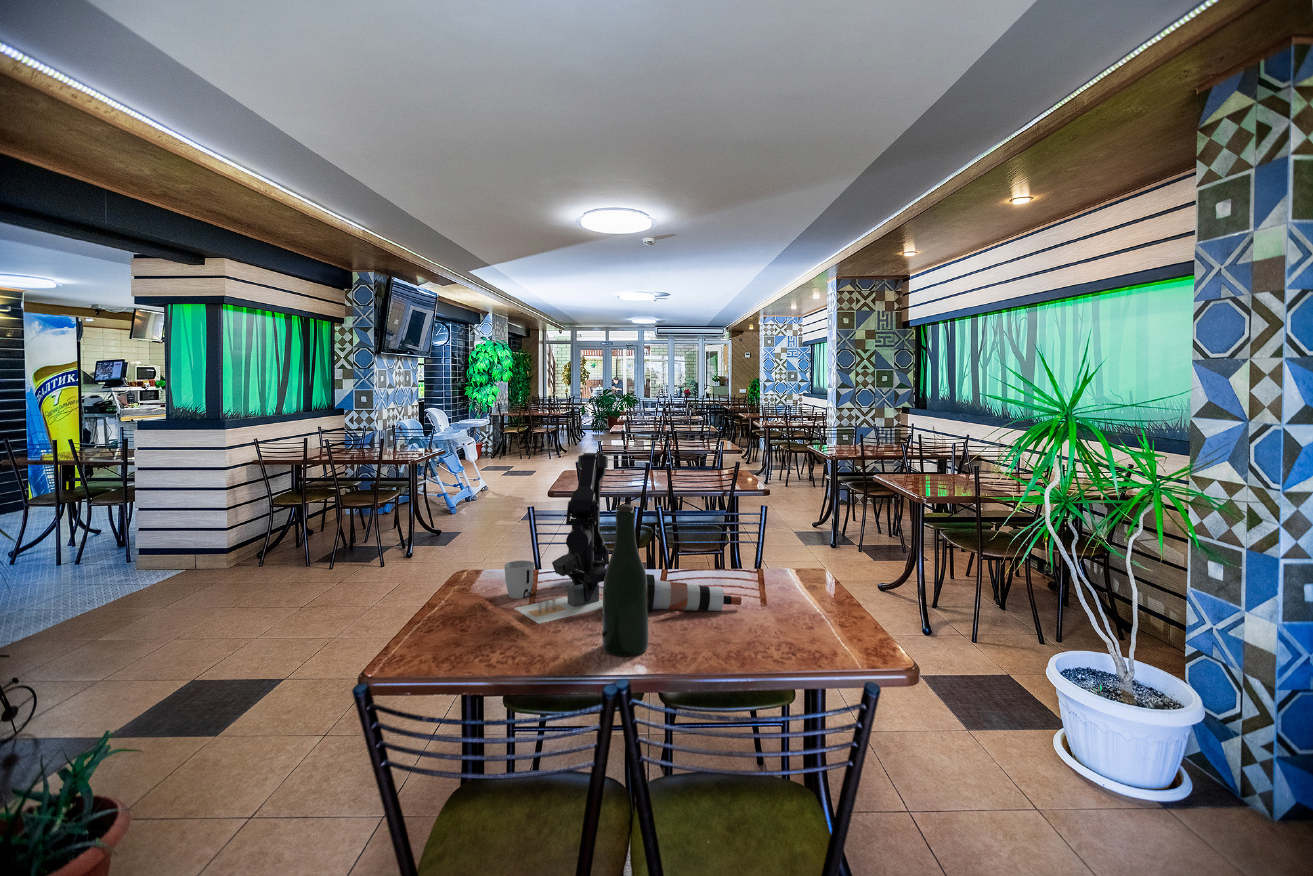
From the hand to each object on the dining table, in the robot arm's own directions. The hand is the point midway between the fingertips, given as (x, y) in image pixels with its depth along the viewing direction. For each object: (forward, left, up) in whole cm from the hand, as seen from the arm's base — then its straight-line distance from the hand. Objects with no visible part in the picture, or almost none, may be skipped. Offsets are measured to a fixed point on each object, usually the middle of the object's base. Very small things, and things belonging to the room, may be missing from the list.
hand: (583, 600), depth 176 cm
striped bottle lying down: (-18, +18, -2) cm, 25 cm away
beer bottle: (+7, +30, -2) cm, 31 cm away
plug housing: (0, 0, -1) cm, 1 cm away
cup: (+11, -16, -2) cm, 20 cm away
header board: (+6, 0, -2) cm, 6 cm away
